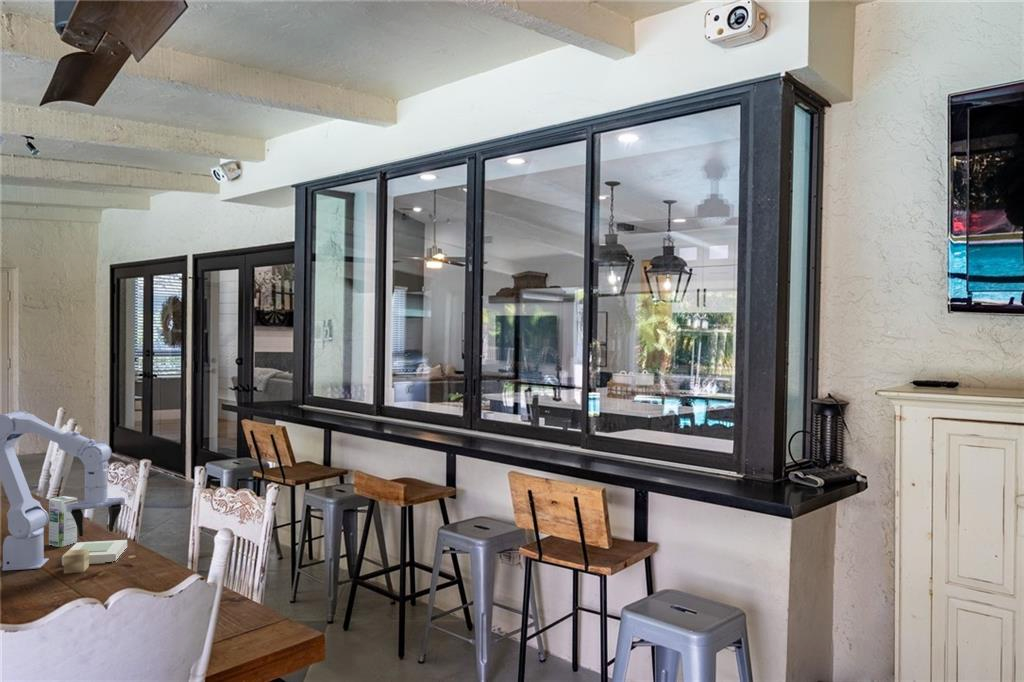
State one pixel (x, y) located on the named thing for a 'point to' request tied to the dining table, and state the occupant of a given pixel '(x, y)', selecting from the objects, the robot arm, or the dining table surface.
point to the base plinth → (101, 550)
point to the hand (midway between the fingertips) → (95, 533)
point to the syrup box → (61, 522)
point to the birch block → (76, 561)
